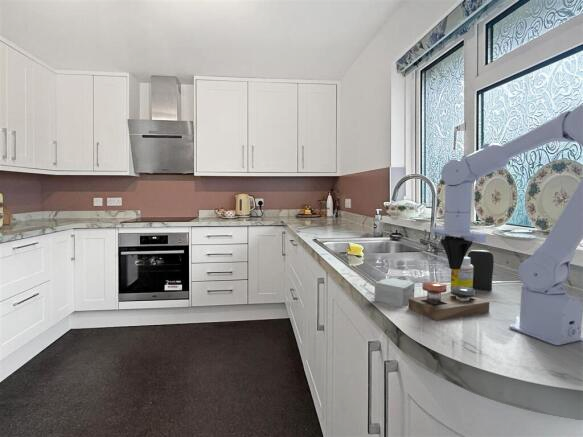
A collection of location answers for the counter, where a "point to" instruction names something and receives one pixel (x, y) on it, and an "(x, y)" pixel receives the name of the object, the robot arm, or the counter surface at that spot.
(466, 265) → the supplement bottle
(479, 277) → the battery charger
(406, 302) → the small box
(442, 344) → the counter surface
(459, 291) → the grey metal knob
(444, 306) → the walnut block
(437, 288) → the copper knob
